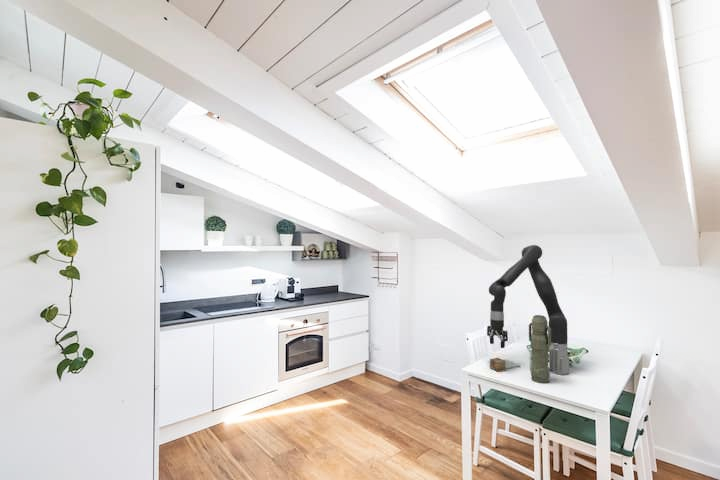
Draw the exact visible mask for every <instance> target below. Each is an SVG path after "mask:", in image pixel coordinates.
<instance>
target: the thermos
mask: <svg viewBox="0 0 720 480" xmlns="http://www.w3.org/2000/svg"><path fill="white" fill-rule="evenodd" d="M528 341H529V342H530V349H531V348H532V366H531V371H530V375H531V381H533V382H535V383H538V384H549V383H550V370H549V346H550V345H551V328H550V327H549V321H548V320H547V317H546V316H544V315H542V314H541V315H540V314H535V315H533V317H532V319H531V322H530V323H529V324H528Z"/></svg>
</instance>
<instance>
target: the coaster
mask: <svg viewBox="0 0 720 480" xmlns="http://www.w3.org/2000/svg"><path fill="white" fill-rule="evenodd" d="M503 360H505V371H507V370H511V369H516V368H520V367H521V365H520V364H517V363H515V362H512V361H510V360H507V359H506V358H505V359H503Z"/></svg>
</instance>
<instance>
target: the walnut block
mask: <svg viewBox="0 0 720 480" xmlns="http://www.w3.org/2000/svg"><path fill="white" fill-rule="evenodd" d="M505 360H506V359H505ZM505 360H504V359H502V358H499V357H495V358H494V357H493V358H489V369H490V370H491V371H493V370H494V371H493V372H495V371H496V373H500V372H501V373H502V372H506V370H505Z"/></svg>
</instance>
